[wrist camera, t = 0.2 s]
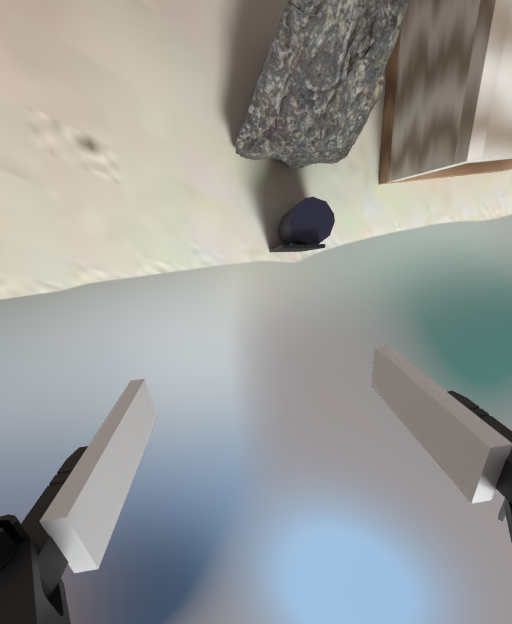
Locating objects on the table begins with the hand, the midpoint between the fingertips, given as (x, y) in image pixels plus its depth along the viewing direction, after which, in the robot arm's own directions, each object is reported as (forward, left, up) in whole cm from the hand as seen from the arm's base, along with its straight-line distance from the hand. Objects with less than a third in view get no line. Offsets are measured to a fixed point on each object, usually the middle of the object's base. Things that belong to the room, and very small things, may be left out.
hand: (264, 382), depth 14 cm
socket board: (-22, +32, -28) cm, 48 cm away
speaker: (-7, +8, -28) cm, 30 cm away
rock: (-22, +10, -28) cm, 37 cm away
